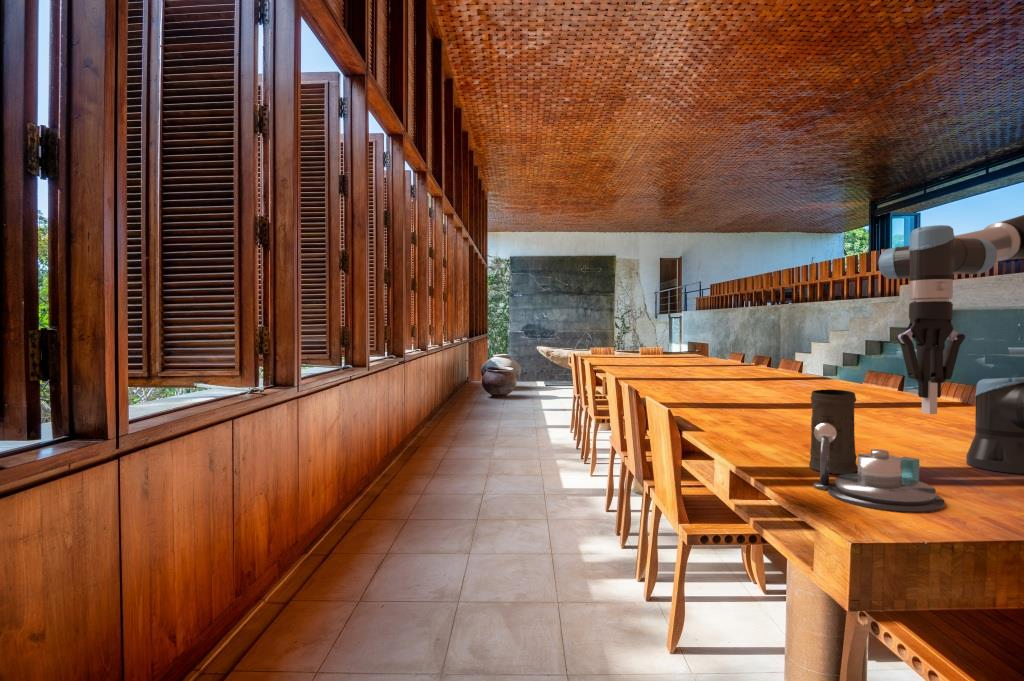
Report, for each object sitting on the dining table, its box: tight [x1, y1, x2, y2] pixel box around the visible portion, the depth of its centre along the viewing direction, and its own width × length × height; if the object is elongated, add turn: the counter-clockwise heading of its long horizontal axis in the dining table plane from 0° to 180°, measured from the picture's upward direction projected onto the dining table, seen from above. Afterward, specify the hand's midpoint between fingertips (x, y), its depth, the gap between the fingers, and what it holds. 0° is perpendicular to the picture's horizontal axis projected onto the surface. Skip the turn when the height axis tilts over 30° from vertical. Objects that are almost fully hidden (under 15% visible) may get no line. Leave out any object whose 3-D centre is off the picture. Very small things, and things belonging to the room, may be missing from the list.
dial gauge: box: [813, 423, 837, 492], centre depth 134 cm, size 4×4×15 cm
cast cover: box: [857, 448, 902, 489], centre depth 127 cm, size 8×8×7 cm
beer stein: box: [808, 388, 858, 475], centre depth 153 cm, size 15×11×20 cm
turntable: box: [834, 456, 937, 506], centre depth 128 cm, size 22×18×6 cm
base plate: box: [827, 482, 946, 513], centre depth 127 cm, size 21×21×1 cm
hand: (929, 413), depth 126 cm, fingers closed
